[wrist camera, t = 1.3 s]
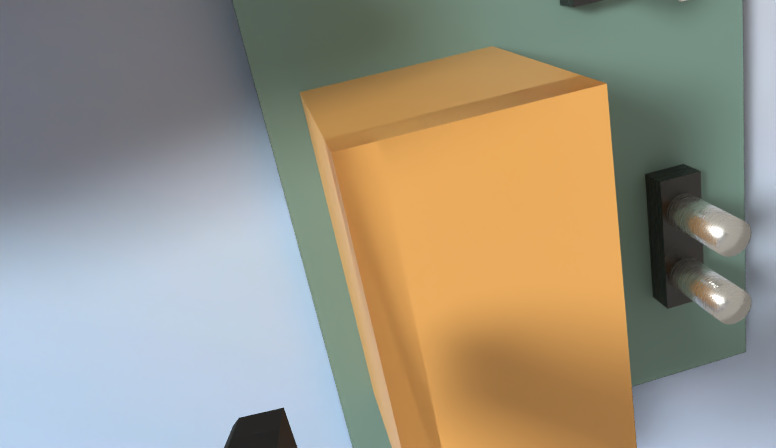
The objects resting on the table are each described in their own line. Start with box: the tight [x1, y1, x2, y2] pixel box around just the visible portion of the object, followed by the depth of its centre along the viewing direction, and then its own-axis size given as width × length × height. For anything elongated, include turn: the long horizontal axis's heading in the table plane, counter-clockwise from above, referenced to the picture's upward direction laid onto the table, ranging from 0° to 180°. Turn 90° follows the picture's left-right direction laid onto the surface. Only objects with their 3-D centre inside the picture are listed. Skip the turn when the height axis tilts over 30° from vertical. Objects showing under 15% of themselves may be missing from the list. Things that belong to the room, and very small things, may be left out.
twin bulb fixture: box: [645, 164, 751, 324], centre depth 20 cm, size 4×1×3 cm, turn 11°
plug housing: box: [300, 46, 637, 448], centre depth 17 cm, size 12×5×6 cm, turn 11°
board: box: [232, 0, 746, 448], centre depth 19 cm, size 20×13×1 cm, turn 11°
